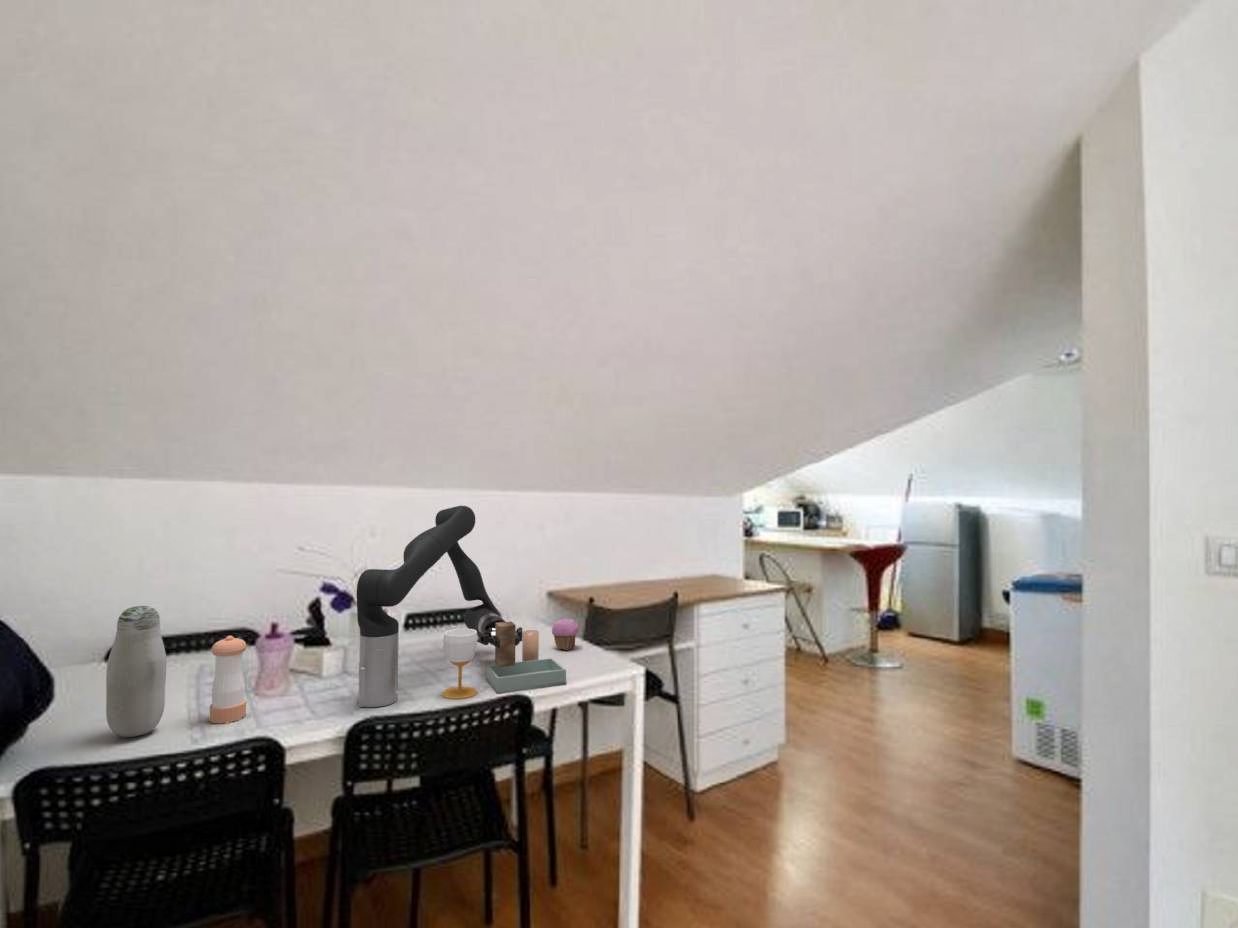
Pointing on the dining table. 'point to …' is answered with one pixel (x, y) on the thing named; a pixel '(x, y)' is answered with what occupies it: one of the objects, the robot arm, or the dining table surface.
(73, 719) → the dining table surface
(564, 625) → the cupcake
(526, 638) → the terracotta cylinder
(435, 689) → the dining table surface
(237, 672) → the salt shaker
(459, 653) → the cup
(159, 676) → the grey bottle
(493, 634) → the robot arm
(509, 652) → the walnut block
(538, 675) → the tray
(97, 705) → the dining table surface
